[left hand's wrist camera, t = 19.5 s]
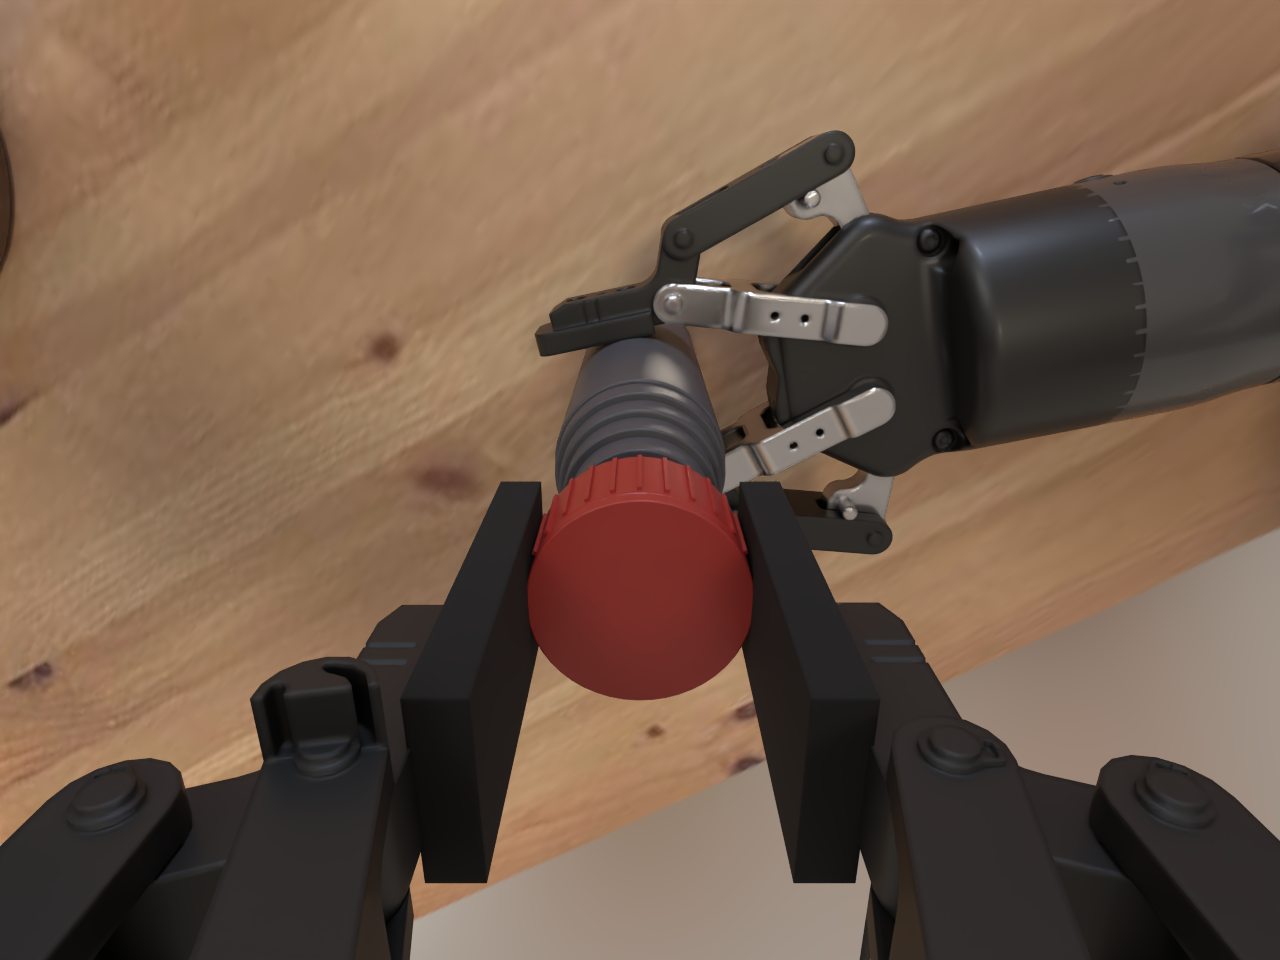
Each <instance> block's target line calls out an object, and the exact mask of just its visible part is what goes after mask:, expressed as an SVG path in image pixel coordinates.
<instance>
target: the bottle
mask: <svg viewBox="0 0 1280 960" xmlns="http://www.w3.org/2000/svg"><path fill="white" fill-rule="evenodd" d="M638 455H642V457H653V458H659V459H662V457H666V458H667V460H669V461H672V462H675V463H678V464H681V465H683V466H686V465H689V466H690V468H691V470H693V471H695V472H697V473H698V474H700V475H701V476H703V477H704V478H707V477H708V478H709V479H710V480H711V484H712V485H713V486H715V487H716V489H717V490H718V491H719V492H720V493H721V494H722V492H723V488H724V484H725V475H726V470H725V448H724V442H723V439H722V435H721V432H720V429H719V426H718V423H717V420H716V417H715V414H714V411H713V407H712V404H711V401H710V398H709V395H708V392H707V389H706V386H705V383H704V379H703V376H702V373H701V370H700V367H699V364H698V361H697V358H696V355H695V351H694V348H693V345H692V342H691V339H690V336H689V333H688V331H687V329H686V327H685V326H684V325H674V324H667V323H665V324H660V325H656V326H655V334H653V335H648V336H643V337H638V338H633V339H627V340H622V341H619V342H614V343H609V344H605V345H600V346H595V347H590V348H587V351H586V354H585V357H584V360H583V363H582V366H581V369H580V372H579V375H578V379H577V382H576V385H575V388H574V391H573V394H572V397H571V400H570V403H569V406H568V410H567V413H566V416H565V419H564V422H563V425H562V428H561V431H560V434H559V438H558V441H557V447H556V458H555V478H556V486H557V489H558V493H559V494H560V492H561V491H562V490H563V489H564V488H565V487H566V486H567V485H568V484H569V480H570V479H571V478H574V479H575V478H577V477H578V476H579V475H581V474H582V473H584V472H586V471H587V470H589V467H590V466H592V465H594V467H595V466H598V465H600V464H602V463H605V462H609V461H612V460H613V458H615V457H617V459H622V458H628V457H638Z"/></svg>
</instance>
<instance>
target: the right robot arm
mask: <svg viewBox="0 0 1280 960" xmlns="http://www.w3.org/2000/svg"><path fill="white" fill-rule="evenodd" d="M854 157H855V146H854V143H853V141H852V139H851V138H850V137H849V136H848V135H847V134H846V133H844V132H842V131H836V130H835V131H830V132H826V133H822V134H819V135H815V136H811V137H809V138H807V139H805V140H803V141H802V142H800V143H798V144H796V145H795V146H793V147H791V148H789V149H788V150H786V151H784V152H782V153H781V154H779V155H777V156H775V157H774V158H772V159H770V160H768V161H767V162H765V163H763V164H761V165H760V166H758V167H756V168H754V169H753V170H751V171H749V172H747V173H746V174H744V175H742V176H740V177H739V178H737V179H735V180H733V181H732V182H730V183H728V184H727V185H725V186H723V187H721V188H720V189H718V190H716V191H714V192H713V193H711V194H709V195H707V196H706V197H704V198H702V199H700V200H699V201H697V202H695V203H693V204H692V205H690V206H688V207H686V208H685V209H683V210H681V211H679V212H678V213H676V214H674V215H672V216H671V217H669V218H668V219H667V220H666V221H665V222H664V224H663V226H662V229H661V239H660V246H659V252H658V259H657V265H656V268H655V270H654V272H653V273H652V275H651V276H650V277H649V278H648V279H646V280H645V281H643V282H640V283H637V284H632V285H628V286H623V287H618V288H614V289H609V290H604V291H600V292H595V293H590V294H586V295H581V296H576V297H572V298H567V299H566V300H564V301H563V302H561V303H560V304H559V305H557V306H556V307H554V308H553V310H552V311H551V313H550V314H549V316H550V320H551V323H548V324H545V325H542V326H540V327H539V329H538V330H537V332H536V333H535V337H536V341H537V345H538V349H539V353H540V356H552V355H557V354H562V353H566V352H571V351H576V350H581V349H586V348H590V347H595V346H600V345H605V344H609V343H614V342H619V341H622V340H627V339H633V338H638V337H643V336H648V335H653V334H655V326H656V325H660V324H665V323H667V324H674V325H685V326H696V327H707V328H718V329H725V330H729V331H732V332H736V333H743V334H753V335H758V337H759V343H760V345H761V347H762V349H763V352H764V354H765V356H766V358H767V360H768V363H769V368H768V376H767V385H766V389H767V396H768V401H767V402H765V403H763V404H761V405H760V406H758V407H756V408H754V409H752V410H750V411H748V412H746V413H745V414H743V415H742V416H741V417H740V418H739V419H738V421H737V422H735V423H734V424H732V425H730V426H728V427H727V428H725V429H723V430H721V431H720V432H721V435H722V439H723V442H724V448H725V470H726V475H725V484H724V488H723V492H722V494H725V495H726V496H727V500H728V504H729V506H730V508H731V510H732V512H733V514H734V513H737V516H738V502H739V482H748V481H750V480H752V479H754V478H756V477H758V476H761V475H766V476H770V475H774V474H777V473H779V472H781V471H783V470H785V469H787V468H789V467H791V466H793V465H795V464H797V463H799V462H801V461H803V460H805V459H807V458H809V457H811V456H813V455H815V454H817V453H819V452H821V453H823V454H826V455H828V456H830V457H832V458H835V459H837V460H839V461H841V462H844V463H846V464H848V465H851V466H853V467H855V468H857V469H859V470H858V471H857V473H856V474H855V475H853V476H852V477H850V478H848V479H844V480H835V481H833V482H831V483H829V484H828V485H827V486H826V487H825V488H824V490H823V492H816V491H803V490H791V489H783V490H784V493H785V495H786V497H787V499H788V501H789V503H790V505H791V508H792V510H793V512H794V514H795V516H796V518H797V520H798V523H799V525H800V527H801V529H802V531H803V533H804V535H805V538H806V540H807V542H808V544H809V546H810V548H811V550H822V551H835V552H848V553H861V554H878V553H881V552H883V551H885V550H886V549H887V548H888V547H889V546H890V544H891V542H892V531H891V529H890V528H889V526H888V525H887V524H886V521H885V515H886V511H887V506H888V502H889V497H890V492H891V488H892V483H893V479H894V476H897V475H900V474H902V473H904V472H906V471H908V470H909V469H910V468H912V467H913V466H914V465H916V464H917V463H919V462H920V461H922V460H923V459H925V458H927V457H930V456H932V455H934V454H938V453H944V452H954V451H965V450H972V449H977V448H983V447H988V446H993V445H998V444H1003V443H1008V442H1014V441H1019V440H1024V439H1029V438H1034V437H1039V436H1044V435H1050V434H1055V433H1060V432H1066V431H1071V430H1076V429H1081V428H1087V427H1092V426H1097V425H1101V424H1106V423H1111V422H1117V421H1122V420H1127V419H1132V418H1137V417H1143V416H1148V415H1153V414H1158V413H1163V412H1169V411H1174V410H1178V409H1182V408H1186V407H1191V406H1194V405H1197V404H1200V403H1204V402H1207V401H1210V400H1213V399H1216V398H1219V397H1221V396H1224V395H1227V394H1230V393H1234V392H1237V391H1240V390H1244V389H1248V388H1252V387H1256V386H1260V385H1265V384H1270V383H1275V382H1280V149H1276V150H1271V151H1266V152H1262V153H1257V154H1252V155H1248V156H1243V157H1238V158H1235V159H1230V160H1224V161H1218V162H1208V163H1196V164H1180V165H1170V166H1161V167H1155V168H1150V169H1144V170H1138V171H1133V172H1129V173H1124V174H1119V175H1114V176H1113V175H1096V176H1092V177H1088V178H1085V179H1082V180H1079V181H1076V182H1074V184H1072V185H1069V186H1063V187H1058V188H1054V189H1049V190H1045V191H1040V192H1035V193H1031V194H1026V195H1021V196H1017V197H1012V198H1008V199H1003V200H998V201H994V202H989V203H984V204H980V205H975V206H971V207H966V208H961V209H957V210H952V211H947V212H943V213H938V214H934V215H929V216H924V217H920V218H915V219H907V220H897V219H894V218H891V217H888V216H886V215H882V214H874V213H869V211H868V209H867V206H866V204H865V201H864V199H863V197H862V194H861V192H860V189H859V187H858V185H857V182H856V180H855V177H854V175H853V172H852V170H851V168H850V166H851V165H852V163H853V160H854ZM782 207H783V208H784V210H785V211H786V212H787V213H788V214H789V215H790V216H792V217H794V218H798V219H803V220H808V219H812V218H815V217H818V216H825V217H827V218H828V219H829V220H830V221H831V222H832V223H833V225H834V227H833V228H832V229H831V230H830V231H829V232H828V233H827V234H826V235H825V236H824V237H823V238H822V239H821V240H820V241H819V242H818V244H817V245H816V246H815V247H814V248H813V249H812V250H811V251H810V252H809V253H808V254H807V255H806V256H805V257H804V258H803V259H802V260H801V261H800V262H799V264H798V265H797V266H796V267H795V268H794V269H793V270H792V271H791V272H790V273H789V274H788V275H787V276H786V277H785V278H784V279H783V280H782V281H781V283H771V282H760V281H750V280H739V279H711V278H700V277H697V271H698V265H699V259H700V253H702V252H704V251H705V250H707V249H709V248H711V247H713V246H714V245H716V244H718V243H720V242H722V241H723V240H725V239H727V238H729V237H731V236H732V235H734V234H736V233H738V232H739V231H741V230H743V229H745V228H747V227H748V226H750V225H752V224H754V223H756V222H757V221H759V220H761V219H763V218H765V217H766V216H768V215H770V214H772V213H773V212H775V211H777V210H779V209H781V208H782ZM792 442H794V443H793V444H791V443H792Z"/></svg>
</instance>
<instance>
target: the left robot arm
mask: <svg viewBox="0 0 1280 960" xmlns="http://www.w3.org/2000/svg"><path fill="white" fill-rule="evenodd" d="M9 224H10V186H9V178H8V171H7V164H6V159H5V155H4V151H3V147H2V143H1V139H0V263H1V260H2V257H3V254H4V250H5V246H6V243H7V237H8V230H9ZM542 517H543V513H542V493H541V482H501V483H500V485H499V487H498V489H497V491H496V494H495V496H494V498H493V500H492V502H491V504H490V506H489V509H488V511H487V513H486V515H485V517H484V519H483V521H482V524H481V526H480V528H479V530H478V532H477V534H476V536H475V539H474V541H473V543H472V545H471V547H470V549H469V551H468V554H467V556H466V558H465V560H464V562H463V564H462V567H461V569H460V571H459V573H458V575H457V577H456V579H455V582H454V584H453V586H452V588H451V590H450V592H449V594H448V597H447V599H446V601H445V603H444V605H401V606H400V607H399V608H397V609H396V610H395V611H393V612H392V613H391V614H389V615H388V616H387V617H385V618H384V619H383V620H381V621H380V622H379V623H378V624H377V626H376V627H375V629H374V631H373V632H372V634H371V636H370V637H369V639H368V641H367V642H366V647H365V648H363V649H362V651H361V652H360V654H359V656H358V657H357V659H355V658H351V657H324V658H319V659H314V660H309V661H304V662H301V663H299V664H296V665H294V666H291V667H289V668H287V669H284V670H282V671H280V672H278V673H277V674H275V675H274V676H272V677H271V678H269V679H268V680H267V681H265V682H264V683H262V684H261V685H260V686H259V688H258V689H257V690H256V692H255V693H254V694H253V696H252V697H251V698H250V702H251V706H252V711H253V715H254V720H255V724H256V729H257V733H258V738H259V742H260V747H261V751H262V756H263V760H264V762H263V765H262V767H261V770H259V771H256V772H253V773H250V774H246V775H243V776H239V777H236V778H231V779H227V780H222V781H218V782H213V783H209V784H204V785H200V786H195V787H191V788H187V789H185V786H184V782H183V779H182V775H181V772H180V771H179V770H178V769H177V768H176V767H175V766H173V765H172V764H171V763H170V762H167V761H162V760H157V759H152V758H147V759H136V760H126V761H122V762H119V763H116V764H112V765H108V766H106V767H103V768H99V769H97V770H95V771H93V772H91V773H89V774H87V775H85V776H83V777H81V778H79V779H77V780H75V781H73V782H71V783H69V784H68V785H67V786H65V787H64V788H63V789H62V790H60V791H59V792H58V793H56V794H55V795H54V796H52V797H51V798H50V799H49V800H47V801H46V802H45V803H44V804H43V805H42V806H41V807H40V808H39V809H38V810H37V811H36V812H35V813H34V814H33V815H32V816H31V817H30V818H29V819H28V820H27V821H26V822H25V823H24V824H23V825H22V826H21V827H20V828H19V829H17V830H16V831H15V832H14V833H13V834H12V835H11V836H10V837H9V838H8V839H7V840H6V841H5V842H4V843H3V844H2V845H1V846H0V960H410V950H411V940H412V929H413V918H414V914H413V907H412V900H411V894H410V887H409V886H410V883H411V880H412V877H413V874H414V871H415V868H416V864H417V861H418V858H419V855H420V852H421V857H422V864H423V872H424V879H425V883H487V880H488V876H489V871H490V866H491V862H492V857H493V853H494V848H495V844H496V839H497V834H498V830H499V825H500V821H501V816H502V812H503V807H504V802H505V798H506V793H507V789H508V784H509V779H510V775H511V770H512V766H513V761H514V757H515V752H516V747H517V743H518V738H519V734H520V729H521V725H522V720H523V715H524V711H525V706H526V702H527V697H528V693H529V688H530V683H531V679H532V674H533V670H534V665H535V661H536V656H537V651H538V647H539V645H538V644H537V642H536V640H535V638H534V636H533V633H532V631H531V629H530V623H529V608H528V591H527V583H528V578H529V574H530V570H531V567H532V563H533V559H534V555H532V552H533V548H534V545H535V541H536V538H537V534H538V531H539V528H540V524H541V521H542ZM738 519H739V522H740V526H741V529H742V533H743V536H744V539H745V543H746V546H747V550H748V553H749V554H746V558H747V561H748V565H749V568H750V572H751V575H752V579H753V599H752V616H751V627H750V630H749V633H748V635H747V637H746V639H745V641H744V643H743V645H742V649H743V654H744V659H745V663H746V668H747V672H748V677H749V681H750V686H751V691H752V695H753V700H754V704H755V709H756V713H757V718H758V723H759V727H760V732H761V736H762V741H763V745H764V750H765V755H766V759H767V764H768V768H769V773H770V777H771V782H772V787H773V791H774V796H775V800H776V805H777V809H778V814H779V818H780V823H781V828H782V832H783V837H784V841H785V846H786V851H787V855H788V860H789V864H790V869H791V873H792V878H793V883H855V882H856V875H857V868H858V860H859V853H860V850H861V853H862V856H863V859H864V862H865V865H866V868H867V871H868V874H869V877H870V880H871V887H870V894H869V900H868V907H867V914H866V921H865V928H864V935H863V941H862V948H861V955H860V960H1280V841H1279V840H1278V839H1277V838H1276V837H1275V836H1274V835H1273V834H1272V833H1271V832H1270V831H1269V830H1268V829H1267V828H1266V827H1265V826H1264V825H1263V824H1262V823H1261V822H1260V821H1259V820H1258V819H1257V818H1255V817H1254V816H1253V815H1252V814H1251V813H1250V812H1249V811H1248V810H1247V809H1246V808H1245V807H1244V806H1243V805H1242V804H1241V803H1240V802H1239V801H1238V800H1237V799H1236V798H1235V797H1234V796H1232V795H1231V794H1230V793H1228V792H1227V791H1226V790H1224V789H1223V788H1222V787H1220V786H1219V785H1218V784H1217V783H1215V782H1214V781H1213V780H1211V779H1209V778H1207V777H1205V776H1203V775H1201V774H1199V773H1197V772H1195V771H1193V770H1191V769H1189V768H1187V767H1185V766H1183V765H1180V764H1177V763H1174V762H1170V761H1167V760H1163V759H1160V758H1157V757H1146V756H1136V755H1129V756H1124V757H1119V758H1114V759H1111V760H1110V761H1109V762H1108V763H1107V764H1106V765H1105V766H1103V767H1102V768H1101V770H1100V773H1099V777H1098V781H1097V784H1096V786H1095V785H1090V784H1086V783H1081V782H1076V781H1072V780H1068V779H1063V778H1059V777H1054V776H1050V775H1045V774H1042V773H1038V772H1035V771H1031V770H1028V769H1025V768H1022V767H1020V766H1018V763H1017V761H1016V759H1015V758H1014V756H1013V755H1012V753H1011V751H1010V750H1009V749H1008V747H1007V746H1006V744H1005V743H1003V742H1002V741H1001V740H1000V739H998V738H997V737H996V736H995V735H993V734H992V733H991V732H989V731H988V730H986V729H984V728H982V727H980V726H977V725H975V724H973V723H971V722H969V721H967V720H963V719H962V718H961V717H960V715H959V714H958V712H957V710H956V708H955V707H954V705H953V704H952V702H951V700H950V698H949V697H948V695H947V693H946V692H945V690H944V688H943V687H942V685H941V683H940V682H939V680H938V678H937V677H936V675H935V673H934V672H933V670H932V668H931V667H930V665H929V663H926V661H925V657H924V655H923V653H922V652H921V650H920V648H919V647H918V645H915V640H914V638H913V637H912V635H911V633H910V632H909V630H908V628H907V627H906V625H905V623H904V622H903V620H901V619H900V618H899V617H897V616H896V615H895V614H893V613H892V612H891V611H889V610H888V609H887V608H885V607H884V606H882V605H881V604H880V603H836V602H835V600H834V598H833V596H832V593H831V591H830V589H829V587H828V585H827V583H826V580H825V578H824V576H823V574H822V572H821V570H820V568H819V565H818V563H817V561H816V559H815V557H814V555H813V553H812V550H811V548H810V546H809V544H808V542H807V540H806V538H805V535H804V533H803V531H802V529H801V527H800V525H799V523H798V520H797V518H796V516H795V514H794V512H793V510H792V508H791V505H790V503H789V501H788V499H787V497H786V495H785V493H784V490H783V488H782V486H781V484H780V482H739V502H738Z"/></svg>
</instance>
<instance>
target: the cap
mask: <svg viewBox="0 0 1280 960" xmlns="http://www.w3.org/2000/svg"><path fill="white" fill-rule="evenodd" d="M746 554H749V553H748V550H747V546H746V543H745V539H744V536H743V533H742V529H741V526H740V522H739V519H738V516H737V513H734V514H733V512H732V510H731V508H730V506H729V504H728V500H727V496H726V495H725V494H721V493H720V492H719V491H718V490H717V489H716V487H715V486H713V485H712V484H711V480H710V479H709V478H708V477H707V478H704V477H703V476H701V475H700V474H698V473H697V472H695V471H693V470H691V468H690V466H689V465H686V466H683V465H681V464H678V463H675V462H672V461H669V460H667V458H666V457H662V459H659V458H653V457H642V455H638V457H628V458H622V459H617V457H615V458H613V460H612V461H609V462H605V463H602V464H600V465H598V466H595V467H594V465H592V466H590V467H589V470H587V471H586V472H584V473H582V474H581V475H579V476H578V477H577V478H575V479H574V478H571V479H570V480H569V484H568V485H567V486H566V487H565V488H564V489H563V490H562V491H561V492H560V494H559V495H557V494H555V496H554V497H553V501H552V504H551V508H550V509H549V511H548V513H547V514H544V515H543V517H542V521H541V524H540V528H539V531H538V534H537V538H536V541H535V545H534V548H533V552H532V555H534V559H533V563H532V567H531V570H530V574H529V578H528V583H527V591H528V608H529V623H530V629H531V631H532V633H533V636H534V638H535V640H536V642H537V644H538V645H539V647H540V649H541V650H542V652H543V653H544V655H545V656H546V657H547V658H548V660H549V661H550V662H551V663H552V664H553V665H554V666H555V667H556V668H557V669H558V670H559V671H560V672H561V673H563V674H564V675H565V676H567V677H568V678H569V679H571V680H572V681H574V682H576V683H577V684H579V685H581V686H582V687H584V688H587V689H589V690H591V691H594V692H596V693H599V694H603V695H606V696H609V697H614V698H620V699H627V700H654V699H661V698H667V697H671V696H675V695H679V694H681V693H684V692H687V691H689V690H692V689H694V688H696V687H698V686H700V685H702V684H704V683H705V682H707V681H708V680H710V679H711V678H713V677H714V676H716V675H717V674H718V673H719V672H720V671H721V670H723V669H724V668H725V667H726V666H727V665H728V664H729V663H730V661H731V660H732V659H733V658H734V657H735V656H736V654H737V653H738V651H739V650H740V648H741V647H742V645H743V643H744V641H745V639H746V637H747V635H748V633H749V630H750V627H751V616H752V599H753V579H752V575H751V572H750V568H749V565H748V561H747V558H746Z"/></svg>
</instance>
